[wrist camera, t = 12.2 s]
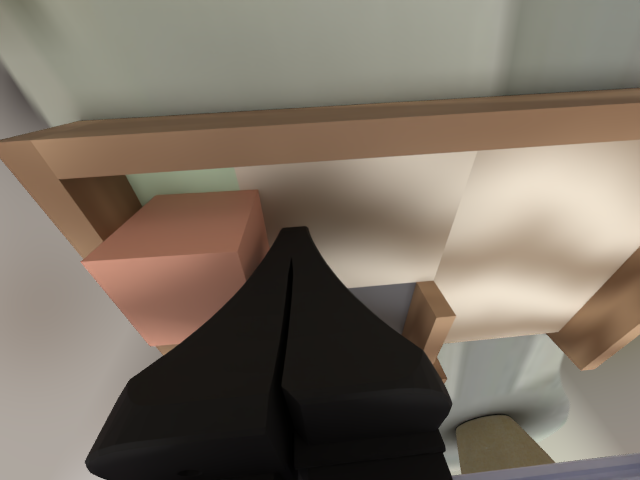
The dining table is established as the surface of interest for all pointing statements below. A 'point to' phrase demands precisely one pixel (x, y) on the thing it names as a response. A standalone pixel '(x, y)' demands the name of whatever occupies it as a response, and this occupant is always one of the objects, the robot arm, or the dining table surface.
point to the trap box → (398, 203)
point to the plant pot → (496, 445)
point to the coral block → (181, 260)
